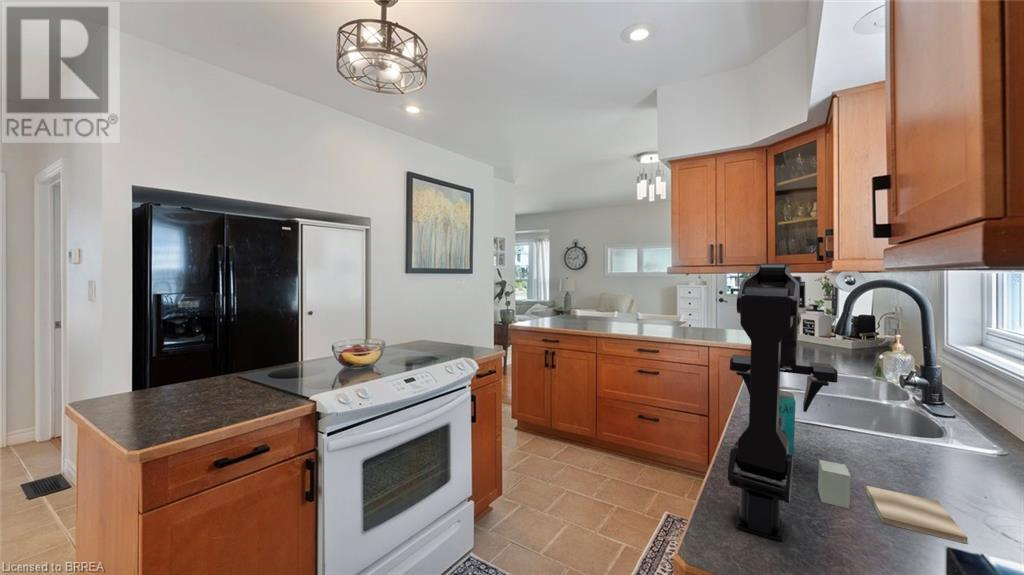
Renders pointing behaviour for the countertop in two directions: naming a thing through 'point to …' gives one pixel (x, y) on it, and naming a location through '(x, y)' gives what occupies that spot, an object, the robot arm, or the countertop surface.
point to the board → (915, 514)
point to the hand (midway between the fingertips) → (778, 407)
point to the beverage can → (787, 416)
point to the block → (834, 483)
